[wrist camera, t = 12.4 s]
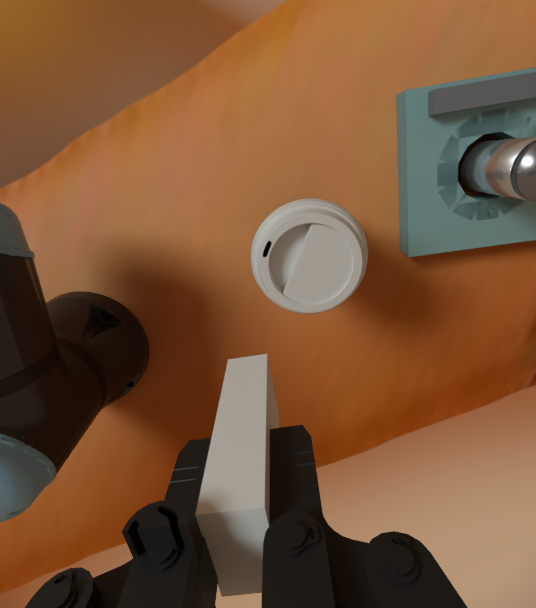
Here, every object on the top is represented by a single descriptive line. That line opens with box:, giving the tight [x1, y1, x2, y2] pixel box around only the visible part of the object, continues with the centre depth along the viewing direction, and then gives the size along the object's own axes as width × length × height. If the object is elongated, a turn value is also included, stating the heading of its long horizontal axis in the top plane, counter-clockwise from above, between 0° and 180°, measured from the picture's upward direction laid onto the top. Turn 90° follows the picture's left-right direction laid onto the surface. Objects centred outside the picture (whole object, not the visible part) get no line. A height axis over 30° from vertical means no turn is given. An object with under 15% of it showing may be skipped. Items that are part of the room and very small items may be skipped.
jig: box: [397, 67, 536, 257], centre depth 37 cm, size 16×16×5 cm
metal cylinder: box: [458, 137, 536, 202], centre depth 34 cm, size 5×5×12 cm
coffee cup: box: [251, 198, 368, 314], centre depth 35 cm, size 10×10×15 cm
